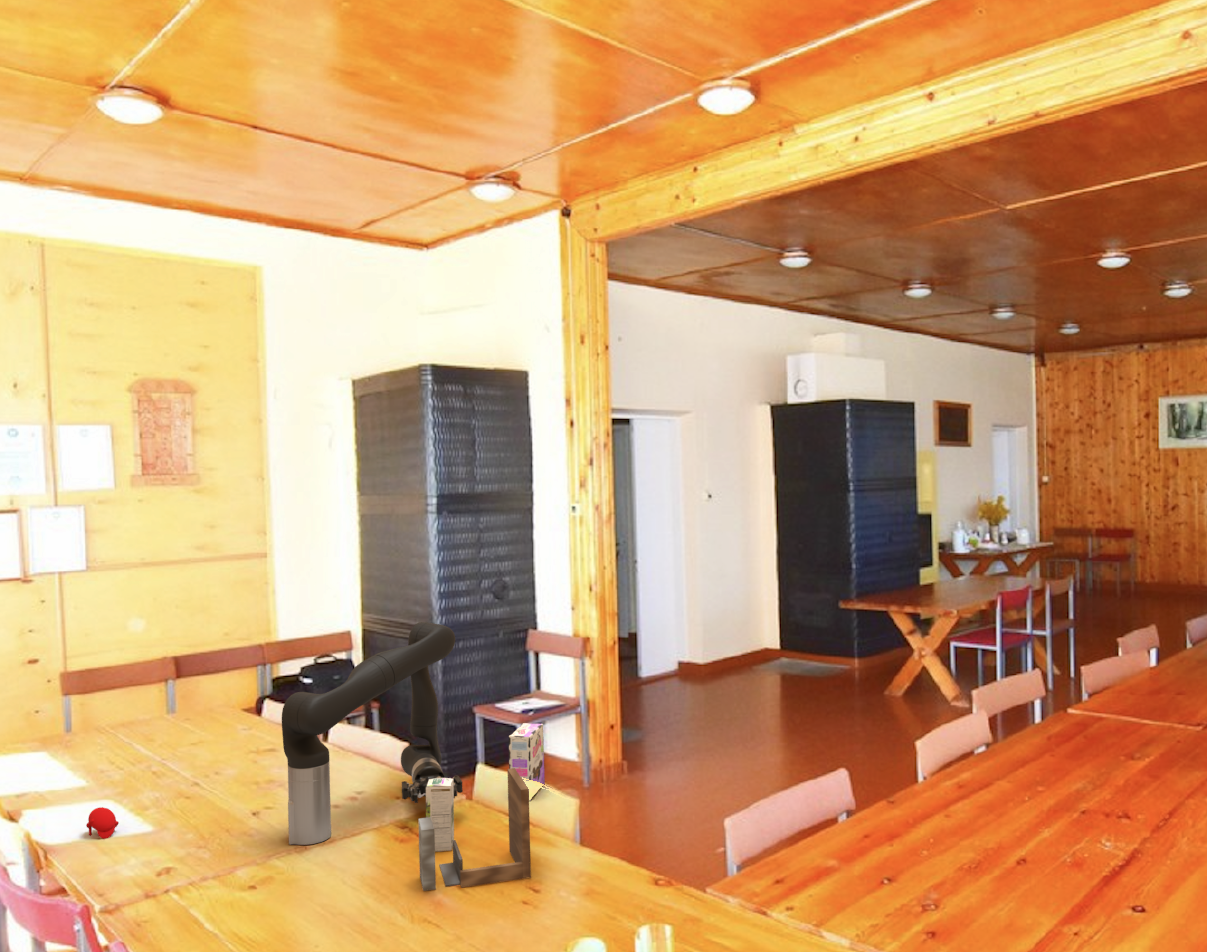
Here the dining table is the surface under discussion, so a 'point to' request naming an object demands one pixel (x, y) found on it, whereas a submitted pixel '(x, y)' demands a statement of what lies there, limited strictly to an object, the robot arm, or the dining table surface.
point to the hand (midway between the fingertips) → (434, 796)
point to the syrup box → (441, 811)
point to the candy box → (528, 752)
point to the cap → (102, 822)
